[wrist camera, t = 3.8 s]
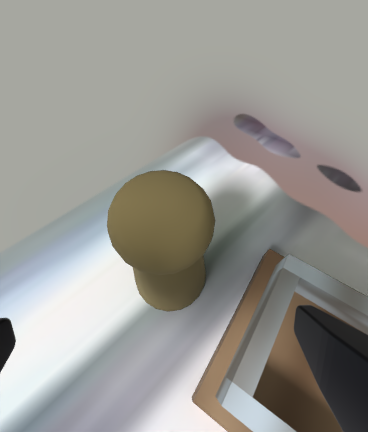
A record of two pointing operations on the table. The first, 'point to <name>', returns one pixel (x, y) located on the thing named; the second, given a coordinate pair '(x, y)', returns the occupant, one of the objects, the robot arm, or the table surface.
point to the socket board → (275, 352)
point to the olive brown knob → (163, 236)
